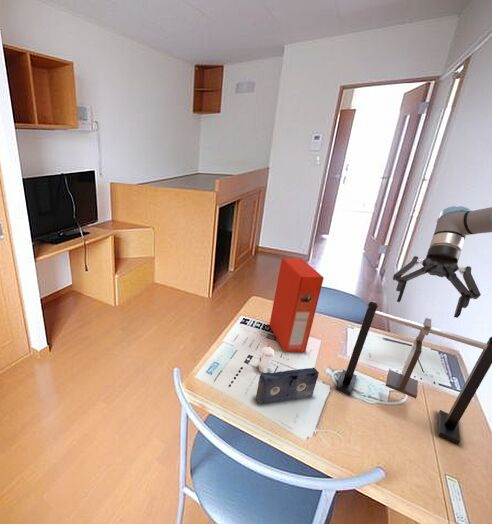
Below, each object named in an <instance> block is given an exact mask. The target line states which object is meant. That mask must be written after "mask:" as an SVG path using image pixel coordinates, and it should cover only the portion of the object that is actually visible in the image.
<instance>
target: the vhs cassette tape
mask: <svg viewBox="0 0 492 524" xmlns="http://www.w3.org/2000/svg"><path fill="white" fill-rule="evenodd" d="M319 374H320V371H318V370H317V369H316V368H315V367H307V368H299V369H288V370H283V371H281V370H280V371H275V372H267V373H260V374H259V379H258V384H257V389H256V394H255V400H256V401H257V402H258V403H259V405H264V404H271V403H280V402H286V401H293V400H302V399H308V398H312V397H313V395H314V391H315V388H316V384H317V381H318V378H319Z"/></svg>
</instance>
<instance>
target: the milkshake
mask: <svg viewBox="0 0 492 524" xmlns="http://www.w3.org/2000/svg"><path fill="white" fill-rule="evenodd" d="M259 346H260V351H259V362H258V371H259V372H261V373H262V374H264V373H269V372H270V371H269V370H270V367H271V364H272V362H273V359H274V357H275V350H274V349H273V348H272V347H270V346H263V347H262V343H261V342H259Z"/></svg>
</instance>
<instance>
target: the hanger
mask: <svg viewBox="0 0 492 524" xmlns="http://www.w3.org/2000/svg"><path fill="white" fill-rule="evenodd" d="M422 325H424V329H423V331H422V330H419V333H418V335H417V336H416V338H415V341H414V342H413V344H412V347H411V349H410V352H409V354H408V356H407V359H406V361H405V363H404V365H403V368H402V370H401V373H399V372H398V371H395V370H392V369H388V371H387V375H386V381H385V387H386V388H389V389H391V390H394V391H396V392H399V393H401V394H404V395H406V396H408V397H411V398H413V399H415V400H416V399H417V397H418V389H419V380H417V379H415V378H412V377H411V376H412V374H413V372H414V370H415V367H416V366H417V363H418V361H419V358H420V356H421V354H422V350H423V341H424V339H425V337H426V336H428V335H429V334H430V333H429V331H430V329H431V327H432V319H431V318H428V317H425V318H424V321H423V323H422Z"/></svg>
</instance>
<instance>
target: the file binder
mask: <svg viewBox="0 0 492 524" xmlns="http://www.w3.org/2000/svg"><path fill="white" fill-rule="evenodd" d="M324 279H325V278H324V276H323V275H322V274H320V272H318V271H317V270H316V269H315V268H313V267H312V266H311V265H310V264H309V263H308V262H306V261H305V260H304V259H303V258H301V257H300V258H297V257H296V258H293V257H292V258H291V257H289V258H288V257H283V258H281V259H280V265H279V271H278V277H277V282H276V288H275V292H274V298H273V302H272V303H273V304H272V309H271V315H270V318H269V319H270V320H269V324H268V325H269V328H270V330H271V331H272V333H273V335H274V336H275V338H276V340H277V341H278V343H279V345H280V346H281V348H282V350H283V352H284V353H306V350H307V347H308V344H309V343H308V342H309V339H310V336H311V335H310V334H311V331H312V326H313V323H314V318H315V315H316V311H317V306H318V303H319V298H320V295H321V291H322V287H323V282H324Z"/></svg>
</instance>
